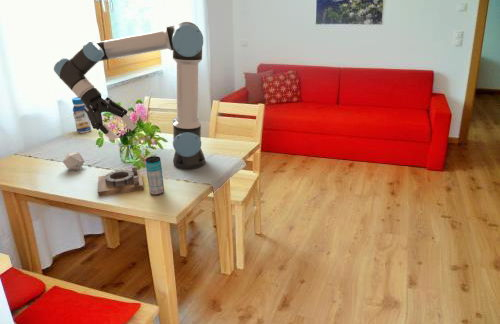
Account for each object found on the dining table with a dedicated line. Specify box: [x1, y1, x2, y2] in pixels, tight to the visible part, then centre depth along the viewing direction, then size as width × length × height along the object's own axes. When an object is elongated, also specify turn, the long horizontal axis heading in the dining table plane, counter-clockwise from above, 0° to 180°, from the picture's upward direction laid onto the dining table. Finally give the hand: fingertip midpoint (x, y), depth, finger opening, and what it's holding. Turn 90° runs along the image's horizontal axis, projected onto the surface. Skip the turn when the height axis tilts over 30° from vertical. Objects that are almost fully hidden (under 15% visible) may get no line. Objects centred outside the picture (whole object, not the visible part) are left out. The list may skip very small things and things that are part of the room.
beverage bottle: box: [71, 96, 92, 134], centre depth 245 cm, size 8×8×20 cm
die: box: [62, 152, 86, 171], centre depth 194 cm, size 8×9×10 cm
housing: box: [97, 166, 144, 197], centre depth 177 cm, size 18×16×5 cm
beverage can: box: [145, 155, 165, 196], centre depth 167 cm, size 6×6×15 cm
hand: (124, 133), depth 164 cm, fingers open, 13 cm apart
